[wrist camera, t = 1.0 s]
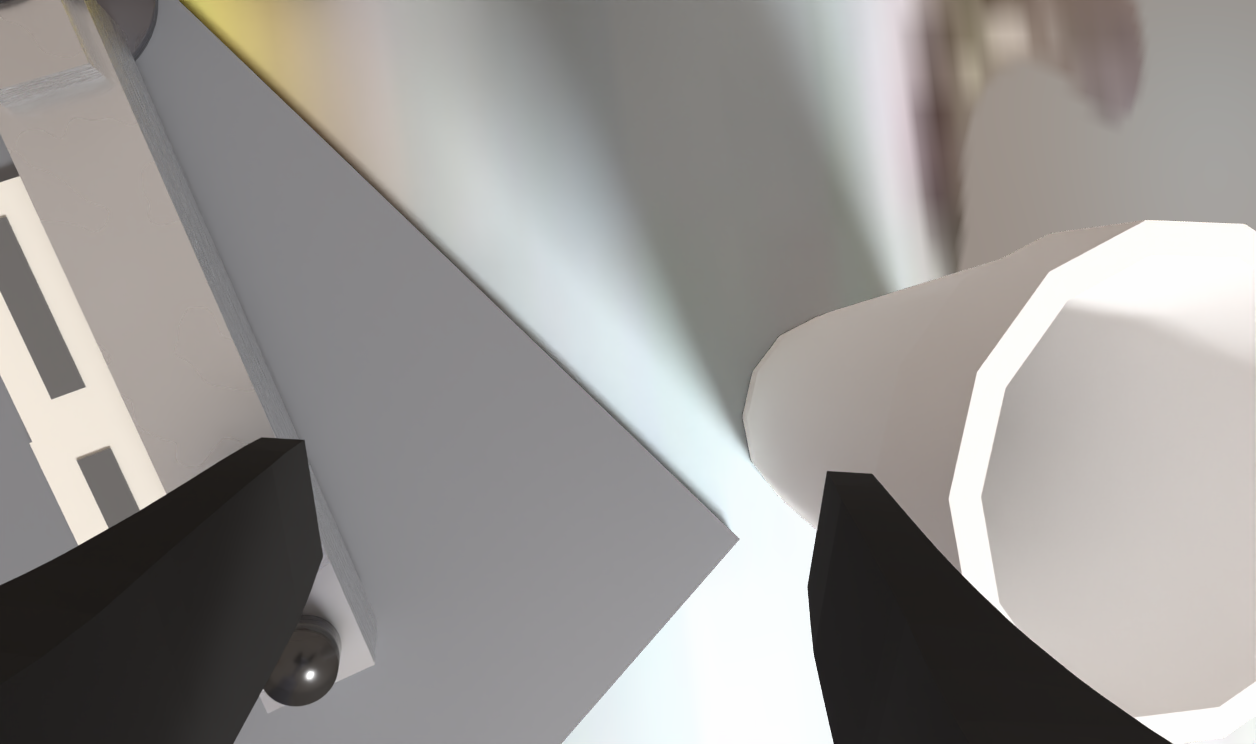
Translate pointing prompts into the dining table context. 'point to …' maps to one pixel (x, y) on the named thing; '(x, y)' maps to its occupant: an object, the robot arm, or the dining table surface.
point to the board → (409, 441)
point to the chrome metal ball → (133, 21)
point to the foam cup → (1060, 448)
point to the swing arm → (158, 292)
